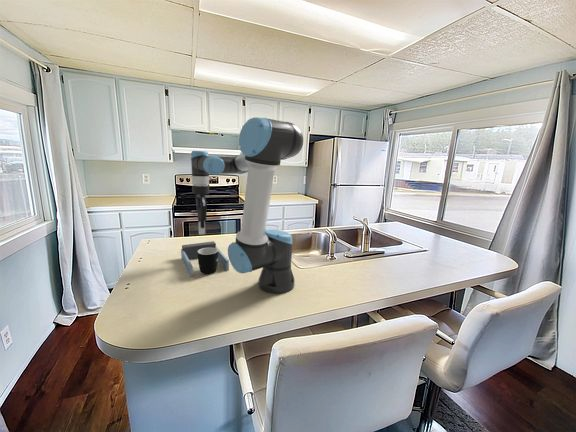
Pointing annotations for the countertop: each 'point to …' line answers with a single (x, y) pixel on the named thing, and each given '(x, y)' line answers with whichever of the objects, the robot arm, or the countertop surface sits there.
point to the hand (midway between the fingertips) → (202, 233)
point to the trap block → (196, 249)
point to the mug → (208, 260)
